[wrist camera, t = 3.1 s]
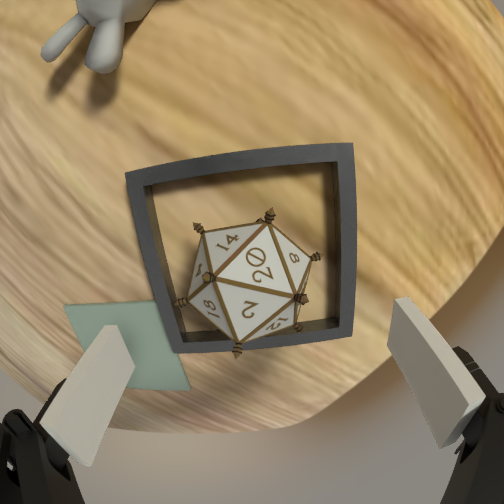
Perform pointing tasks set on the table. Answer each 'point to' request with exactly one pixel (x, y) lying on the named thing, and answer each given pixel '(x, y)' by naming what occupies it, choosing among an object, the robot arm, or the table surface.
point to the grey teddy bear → (98, 31)
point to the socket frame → (242, 160)
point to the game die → (249, 280)
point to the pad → (134, 340)
